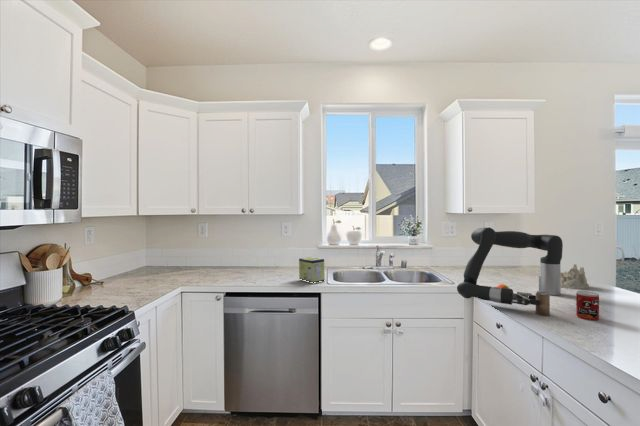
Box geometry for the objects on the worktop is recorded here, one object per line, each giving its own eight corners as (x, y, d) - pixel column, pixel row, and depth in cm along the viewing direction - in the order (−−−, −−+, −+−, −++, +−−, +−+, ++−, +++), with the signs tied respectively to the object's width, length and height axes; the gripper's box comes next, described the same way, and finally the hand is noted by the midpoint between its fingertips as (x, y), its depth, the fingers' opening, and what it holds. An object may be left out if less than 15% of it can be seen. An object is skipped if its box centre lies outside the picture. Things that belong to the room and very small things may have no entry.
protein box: (310, 278, 228) (309, 256, 228) (325, 281, 217) (324, 259, 217) (298, 280, 221) (298, 258, 221) (313, 284, 210) (313, 260, 210)
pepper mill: (533, 313, 146) (533, 291, 146) (539, 311, 148) (539, 290, 148) (545, 316, 141) (545, 293, 141) (552, 314, 144) (551, 292, 144)
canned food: (575, 318, 139) (575, 293, 139) (577, 313, 145) (577, 289, 145) (598, 322, 134) (598, 296, 134) (599, 317, 140) (599, 292, 140)
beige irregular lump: (594, 287, 191) (591, 262, 192) (573, 291, 187) (571, 265, 188) (568, 283, 206) (565, 260, 207) (548, 286, 202) (546, 263, 203)
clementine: (515, 298, 171) (515, 285, 171) (505, 299, 169) (504, 286, 169) (502, 294, 178) (502, 282, 178) (492, 295, 176) (492, 283, 176)
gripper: (498, 290, 150) (539, 296, 140) (504, 285, 161) (542, 289, 151) (498, 306, 150) (539, 313, 140) (504, 299, 161) (543, 305, 151)
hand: (541, 301), depth 145 cm, fingers open, 8 cm apart
